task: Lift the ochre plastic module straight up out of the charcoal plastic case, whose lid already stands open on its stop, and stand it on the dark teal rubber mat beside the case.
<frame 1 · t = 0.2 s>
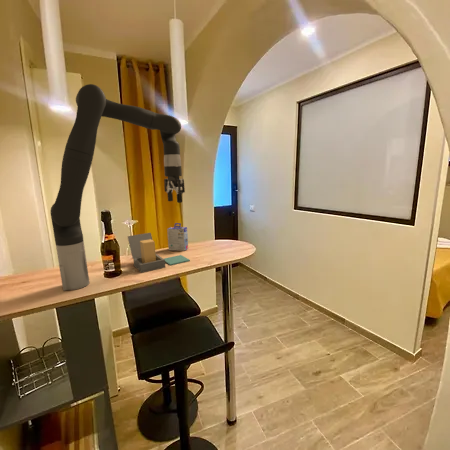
hand: (175, 201, 124), 29 cm above the table, tool pointing down, fingers open, 8 cm apart
lid: (141, 245, 131), point 8 cm above the table, hinge at 120.0°
case: (149, 266, 125), on the table
mat: (175, 260, 132), on the table
ink cartridge box: (178, 249, 151), on the table
module: (148, 253, 124), in the case
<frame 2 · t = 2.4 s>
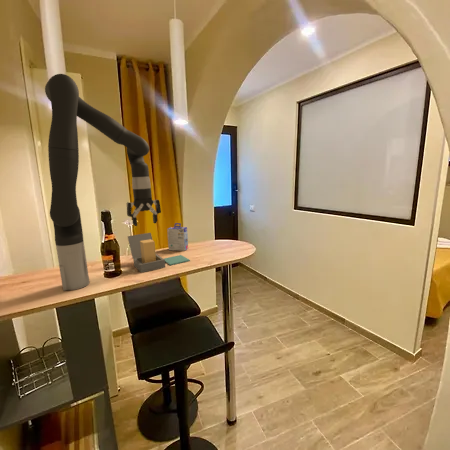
hand: (145, 224, 121), 20 cm above the table, tool pointing down, fingers open, 8 cm apart
nothing on the table moved.
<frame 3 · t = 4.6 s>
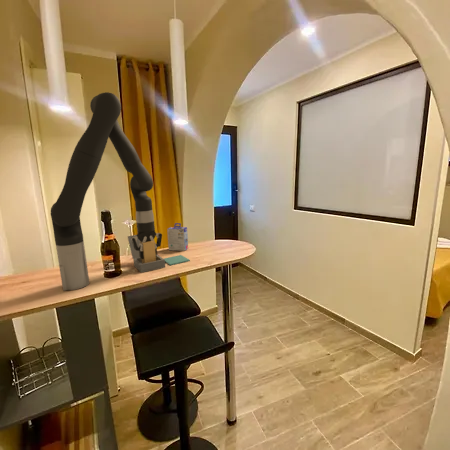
hand: (148, 257, 124), 4 cm above the table, tool pointing down, fingers closed on module, 5 cm apart
module: (148, 253, 124), in the case, touching gripper
everything else where it was.
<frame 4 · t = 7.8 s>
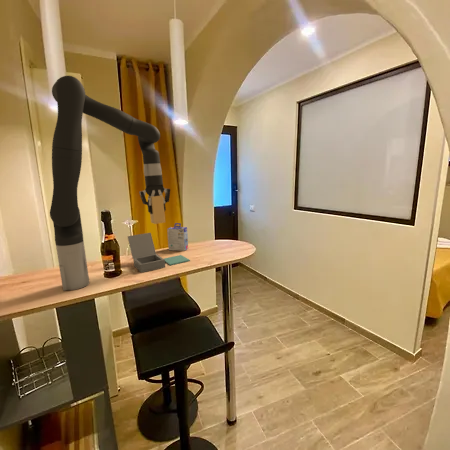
hand: (157, 212, 123), 24 cm above the table, tool pointing down, fingers closed on module, 5 cm apart
module: (156, 209, 123), point 26 cm above the table, touching gripper
everything else where it was.
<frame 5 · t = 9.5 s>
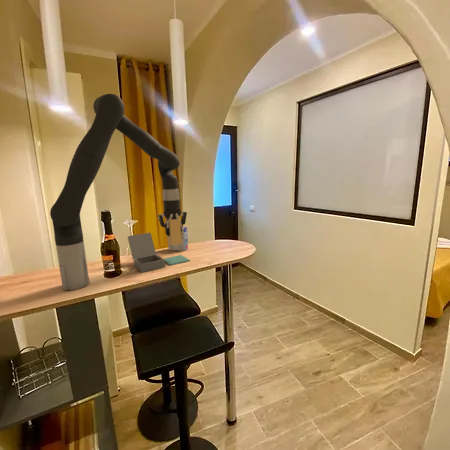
hand: (174, 234, 129), 13 cm above the table, tool pointing down, fingers closed on module, 5 cm apart
module: (173, 231, 129), point 14 cm above the table, touching gripper
everything else where it was.
when the fingers open (6 cm above the table, at t = 11.0 s): module drops 1 cm, resting on mat.
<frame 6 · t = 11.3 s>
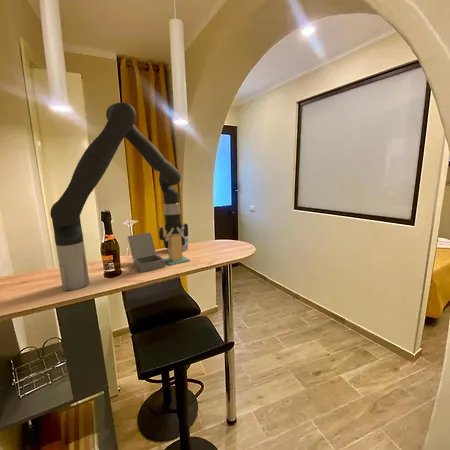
hand: (174, 246, 130), 7 cm above the table, tool pointing down, fingers open, 7 cm apart
module: (174, 247, 130), on the mat, point 7 cm above the table
everything else where it was.
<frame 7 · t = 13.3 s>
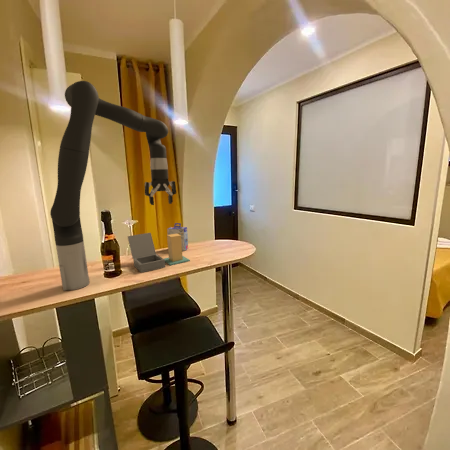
hand: (161, 204, 127), 27 cm above the table, tool pointing down, fingers open, 8 cm apart
nothing on the table moved.
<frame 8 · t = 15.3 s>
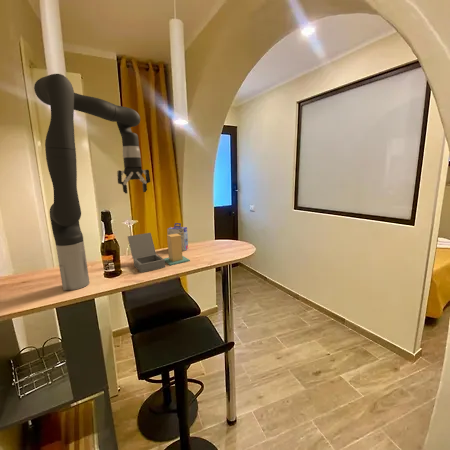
hand: (135, 192, 127), 33 cm above the table, tool pointing down, fingers open, 8 cm apart
nothing on the table moved.
at the end: module inside the target area on the mat (0.1 cm from its centre), point 6.6 cm above the mat's base; module tilted 0°; lid at +120° (first picture: +120°) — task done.
